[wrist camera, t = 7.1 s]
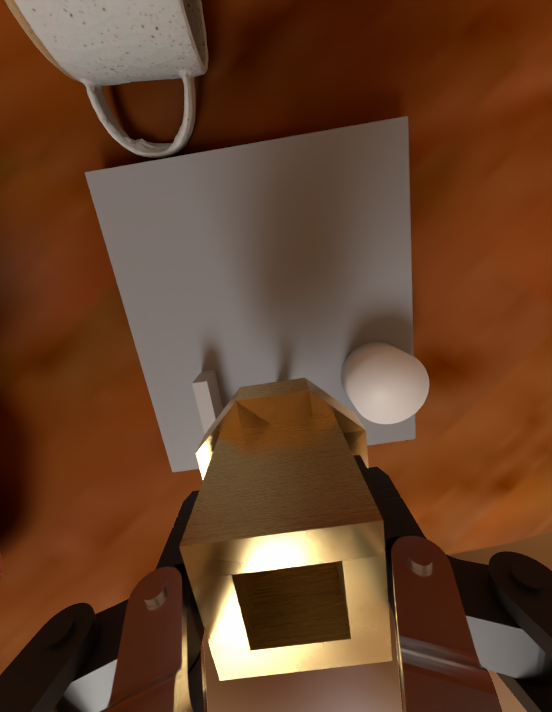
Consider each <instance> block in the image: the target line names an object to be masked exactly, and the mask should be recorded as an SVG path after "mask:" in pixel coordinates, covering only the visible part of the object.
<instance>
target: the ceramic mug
mask: <svg viewBox="0 0 552 712" xmlns="http://www.w3.org/2000/svg"><path fill="white" fill-rule="evenodd" d="M5 2H6V4H7V5H8V7H9V9H10V10H11V12H12V13H13V15H14V16H15V18H16V19H17V21H18V22H19V24H20V25H21V27H22V28H23V30H24V31H25V32H26V34H27V35H28V36H29V38H30V39H31V40H32V42H33V43H34V44H35V46H36V47H37V48H38V49H39V50H40V51H41V53H42V54H43V55H44V56H45V57H46V58H47V59H48V60H49V61H50V62H51V63H52V64H54V65H55V66H56V67H57V68H58V69H59V70H61V71H62V72H63V73H64V74H65V75H67V76H68V77H70V78H71V79H73V80H76V81H79V82H82V83H83V84H84V85H85V86H86V88H87V93H88V96H89V98H90V101H91V103H92V106H93V108H94V110H95V111H96V113H97V116H98V118H99V120H100V121H101V122H102V124H103V125H104V127H105V128H106V129H107V131H108V132H109V134H110V135H111V136H112V137H113V138H114V139H115V140H116V141H117V142H119V143H120V144H121V145H122V146H124V147H125V148H126V149H128V150H130V151H131V152H133V153H135V154H137V155H140V156H143V157H150V158H163V157H168V156H171V155H174V154H176V153H178V152H179V151H180V150H182V149H183V148H184V147H185V146H186V145H187V143H188V141H189V139H190V136H191V134H192V132H193V128H194V122H195V113H196V96H195V85H194V77H196V76H199V75H203V74H205V73H206V72H207V69H208V49H207V40H206V29H205V23H204V17H203V10H202V3H201V0H5ZM176 78H182V80H183V83H184V90H185V93H184V118H183V122H182V125H181V127H180V130H179V132H178V135H176V137H175V140H174V142H173V143H164V144H162V143H150V142H146V141H145V140H143V139H138V140H133V139H131V138H130V137H129V136H128V135H127V134H126V133H125V132H124V131H123V130H122V129H121V128H120V126H119V125H118V123H117V120H116V119H115V118H114V117H113V114H112V112H111V110H110V108H109V106H108V104H107V102H106V99H105V96H104V94H103V90H102V87H103V86H108V85H116V84H117V85H120V84H123V83H130V82H135V81H149V80H163V79H171V80H172V79H176Z"/></svg>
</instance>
